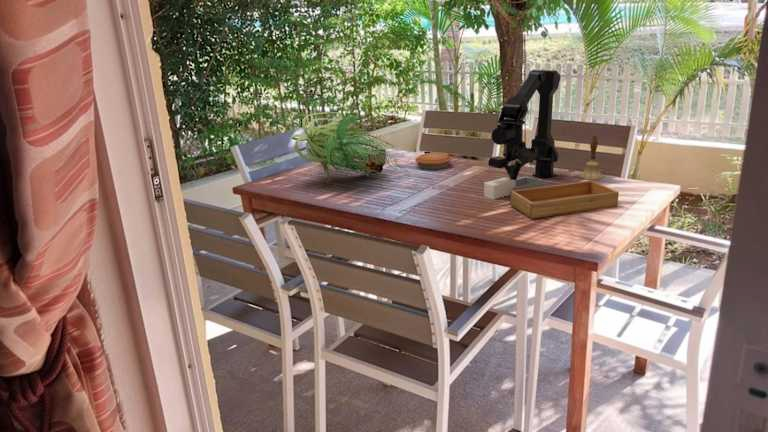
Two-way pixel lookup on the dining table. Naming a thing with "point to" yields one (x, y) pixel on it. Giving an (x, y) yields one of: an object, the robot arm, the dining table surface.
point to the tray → (563, 199)
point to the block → (498, 188)
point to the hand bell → (592, 163)
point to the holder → (527, 183)
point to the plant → (344, 147)
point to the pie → (433, 161)
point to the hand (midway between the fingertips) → (513, 182)
